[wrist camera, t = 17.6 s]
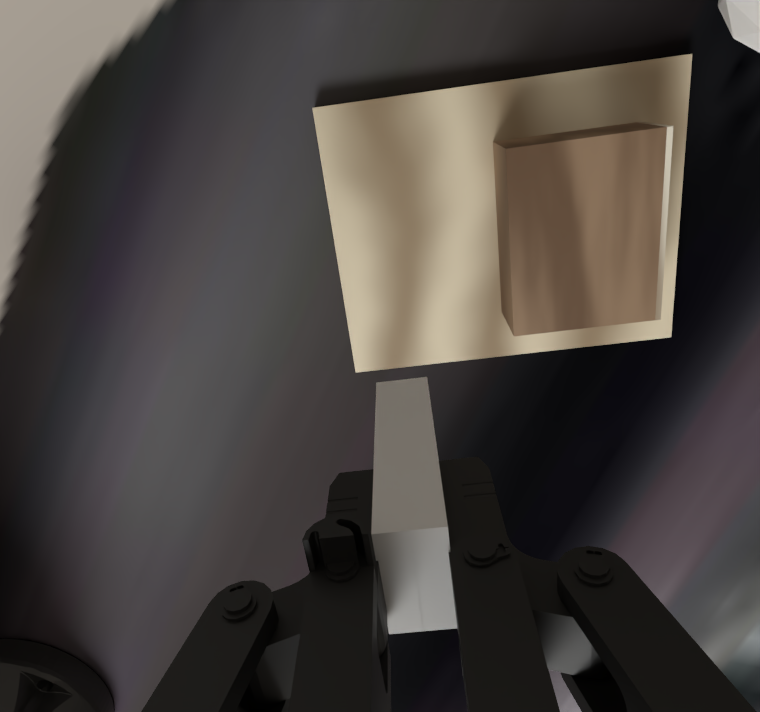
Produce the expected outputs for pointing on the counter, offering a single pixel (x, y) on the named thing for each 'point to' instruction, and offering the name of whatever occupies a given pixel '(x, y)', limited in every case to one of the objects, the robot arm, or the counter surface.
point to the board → (469, 206)
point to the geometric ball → (742, 20)
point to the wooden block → (582, 226)
